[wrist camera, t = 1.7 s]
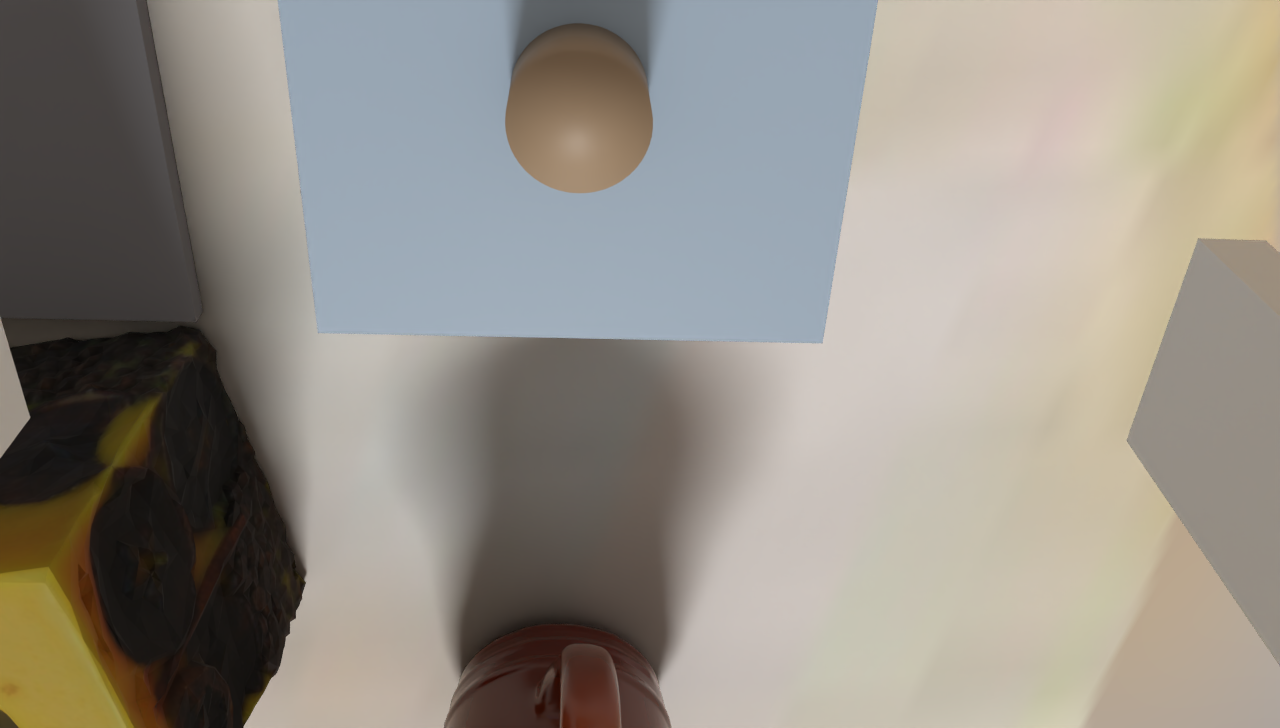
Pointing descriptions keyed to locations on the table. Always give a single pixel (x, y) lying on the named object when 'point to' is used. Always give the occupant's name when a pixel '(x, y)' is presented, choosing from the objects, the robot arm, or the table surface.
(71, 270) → the mat
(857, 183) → the table surface
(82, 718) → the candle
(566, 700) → the mug
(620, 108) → the lid
